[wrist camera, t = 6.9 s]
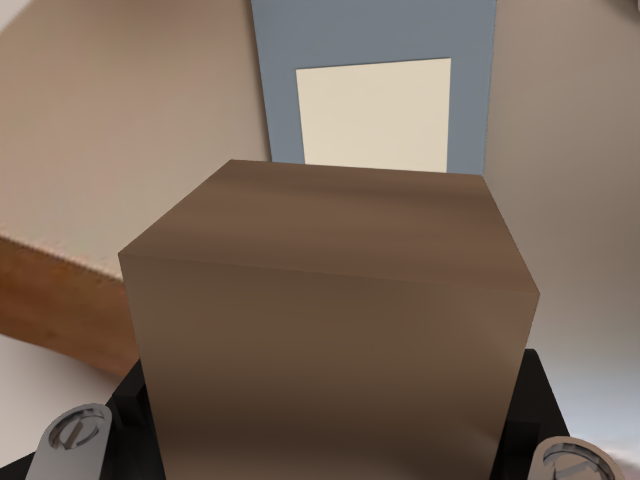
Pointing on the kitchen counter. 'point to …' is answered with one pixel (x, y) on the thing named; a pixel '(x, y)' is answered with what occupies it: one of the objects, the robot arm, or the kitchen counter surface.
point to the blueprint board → (377, 82)
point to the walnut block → (329, 324)
